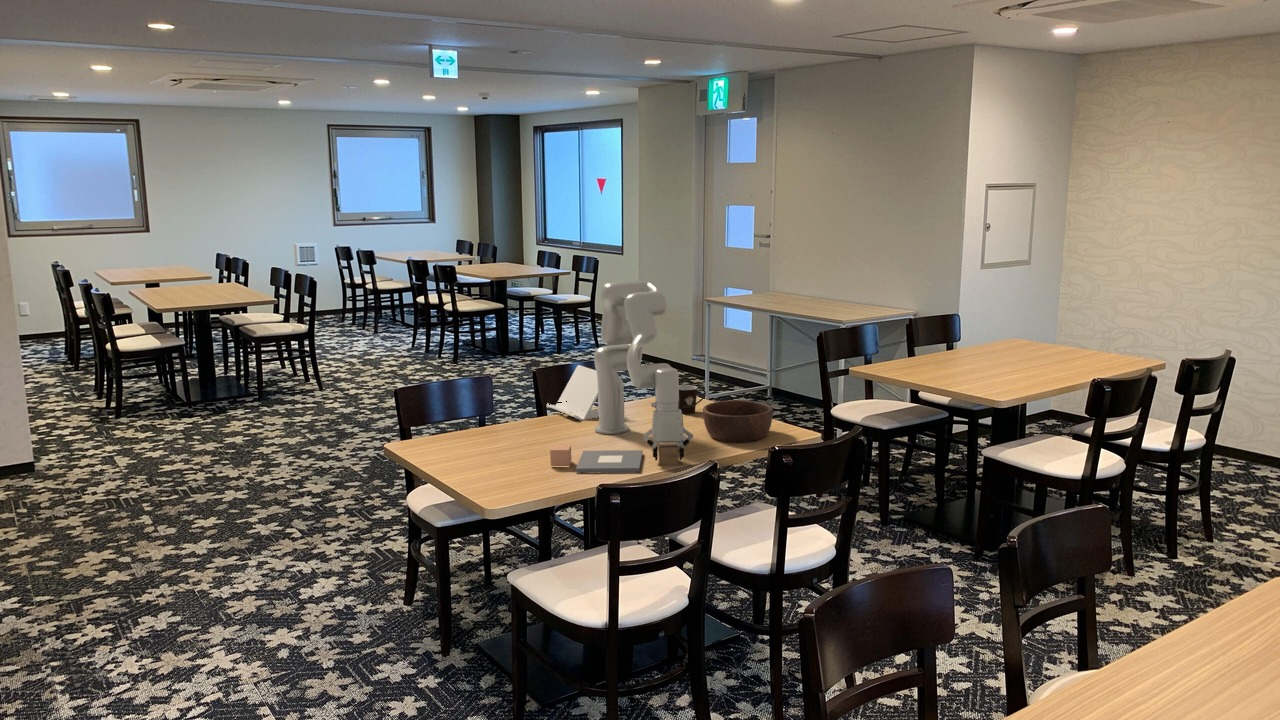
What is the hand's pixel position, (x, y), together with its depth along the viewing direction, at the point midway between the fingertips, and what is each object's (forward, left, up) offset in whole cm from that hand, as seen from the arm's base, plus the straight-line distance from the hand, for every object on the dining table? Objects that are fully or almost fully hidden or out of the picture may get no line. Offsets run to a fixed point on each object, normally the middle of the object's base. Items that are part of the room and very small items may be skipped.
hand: (668, 458), depth 307 cm
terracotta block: (+1, -35, -2) cm, 35 cm away
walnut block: (0, 0, -2) cm, 2 cm away
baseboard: (0, -19, -1) cm, 19 cm away
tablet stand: (-70, -37, -2) cm, 80 cm away
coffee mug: (-68, +7, -2) cm, 68 cm away
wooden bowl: (-33, +24, -2) cm, 41 cm away
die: (-14, +1, -2) cm, 14 cm away
